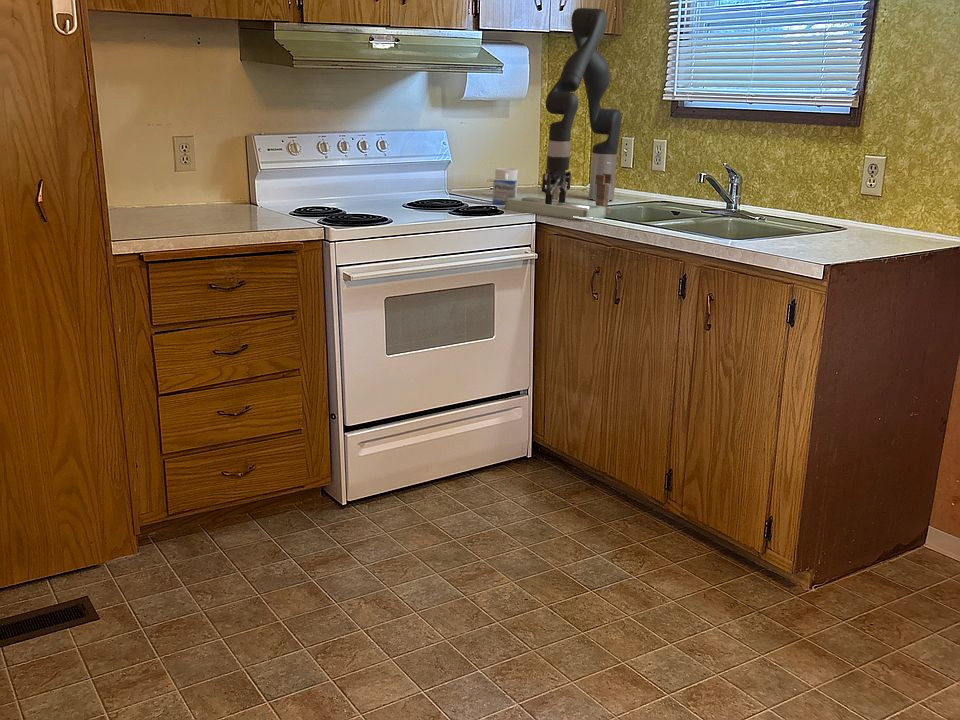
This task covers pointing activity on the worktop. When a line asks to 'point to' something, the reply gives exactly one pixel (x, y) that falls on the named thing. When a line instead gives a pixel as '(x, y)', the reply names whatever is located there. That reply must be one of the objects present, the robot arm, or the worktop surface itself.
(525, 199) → the rail
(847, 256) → the worktop surface
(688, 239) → the worktop surface
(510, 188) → the medicine box
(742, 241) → the worktop surface
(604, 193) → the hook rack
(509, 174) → the mug
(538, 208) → the tray
